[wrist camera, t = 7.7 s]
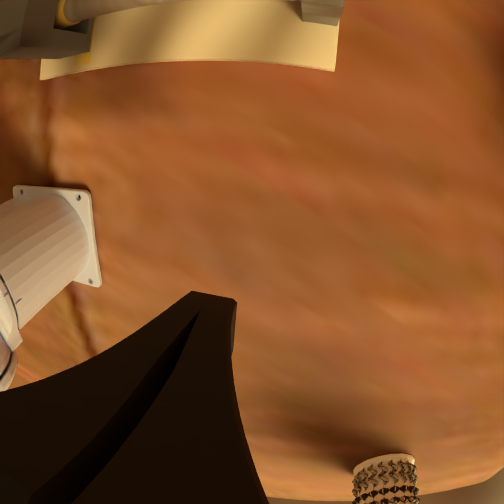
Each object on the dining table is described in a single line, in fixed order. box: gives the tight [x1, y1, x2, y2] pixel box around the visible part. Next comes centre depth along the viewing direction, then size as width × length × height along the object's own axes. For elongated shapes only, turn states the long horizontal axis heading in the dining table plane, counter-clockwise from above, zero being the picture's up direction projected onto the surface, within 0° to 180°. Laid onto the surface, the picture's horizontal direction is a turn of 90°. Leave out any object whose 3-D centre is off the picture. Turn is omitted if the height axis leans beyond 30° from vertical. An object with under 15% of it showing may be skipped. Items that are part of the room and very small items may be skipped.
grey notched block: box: [0, 0, 94, 59], centre depth 10 cm, size 3×6×6 cm, turn 175°
